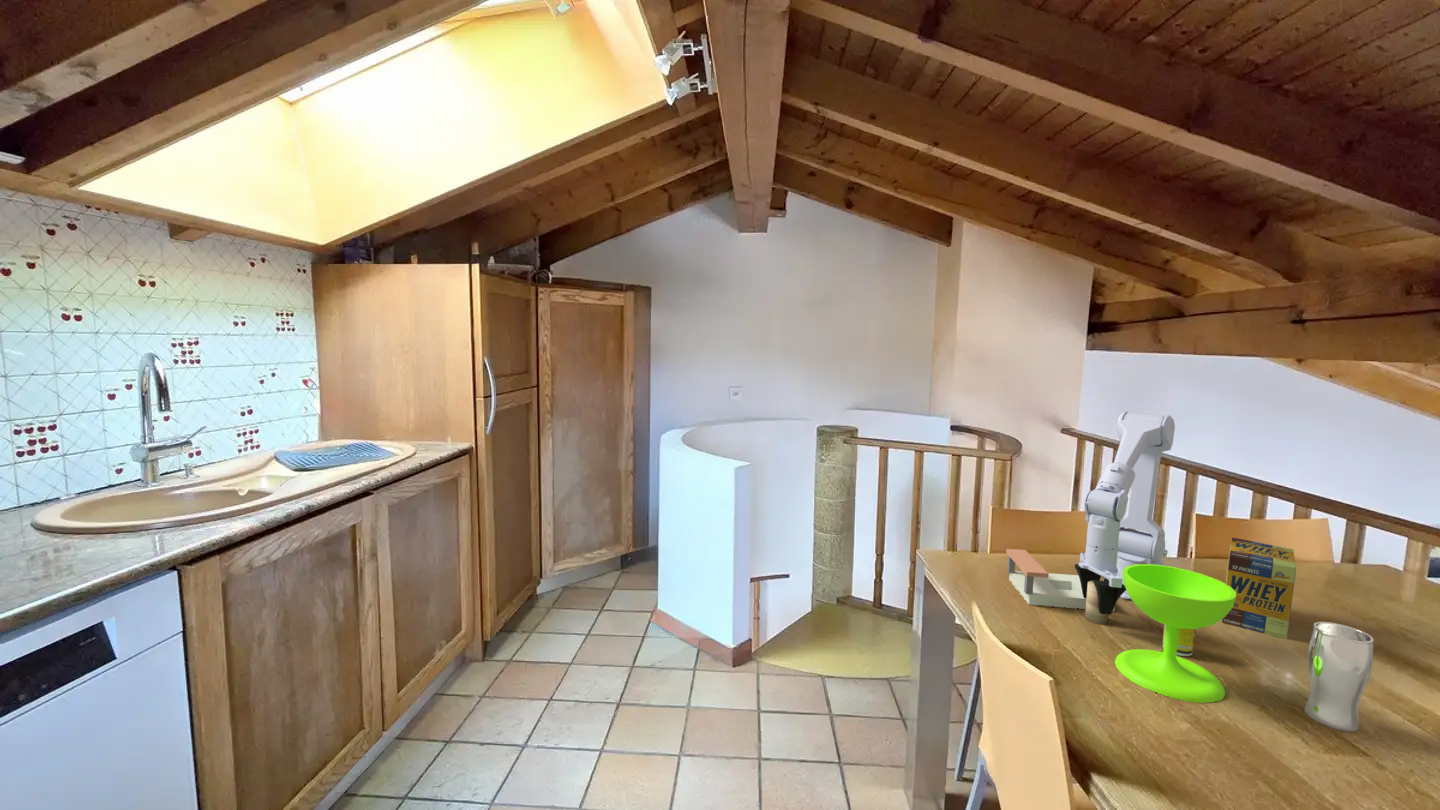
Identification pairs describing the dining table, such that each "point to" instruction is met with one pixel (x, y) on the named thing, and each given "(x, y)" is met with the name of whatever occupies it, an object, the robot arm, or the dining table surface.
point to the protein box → (1261, 586)
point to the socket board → (1052, 590)
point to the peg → (1093, 606)
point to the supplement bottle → (1183, 641)
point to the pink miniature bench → (1025, 567)
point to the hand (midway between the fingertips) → (1096, 605)
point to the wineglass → (1174, 629)
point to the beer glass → (1337, 674)
